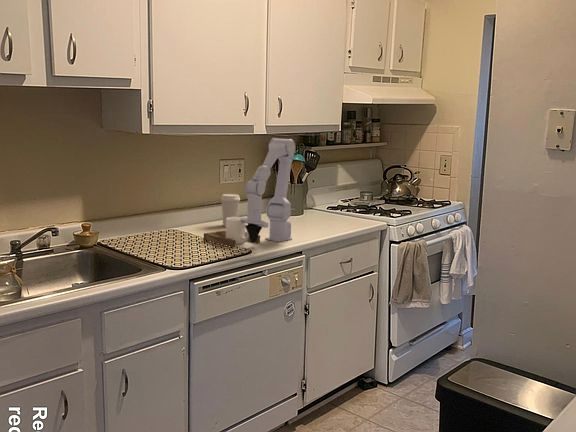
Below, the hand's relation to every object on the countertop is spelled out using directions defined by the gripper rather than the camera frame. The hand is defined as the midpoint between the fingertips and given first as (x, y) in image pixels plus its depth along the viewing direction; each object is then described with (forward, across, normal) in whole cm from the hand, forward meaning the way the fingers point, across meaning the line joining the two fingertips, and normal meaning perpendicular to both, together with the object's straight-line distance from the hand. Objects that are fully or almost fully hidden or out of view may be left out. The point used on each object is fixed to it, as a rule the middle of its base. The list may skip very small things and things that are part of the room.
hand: (253, 242), depth 241 cm
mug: (+2, -9, 0) cm, 9 cm away
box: (+2, -13, 0) cm, 13 cm away
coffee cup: (+2, -39, +23) cm, 45 cm away
